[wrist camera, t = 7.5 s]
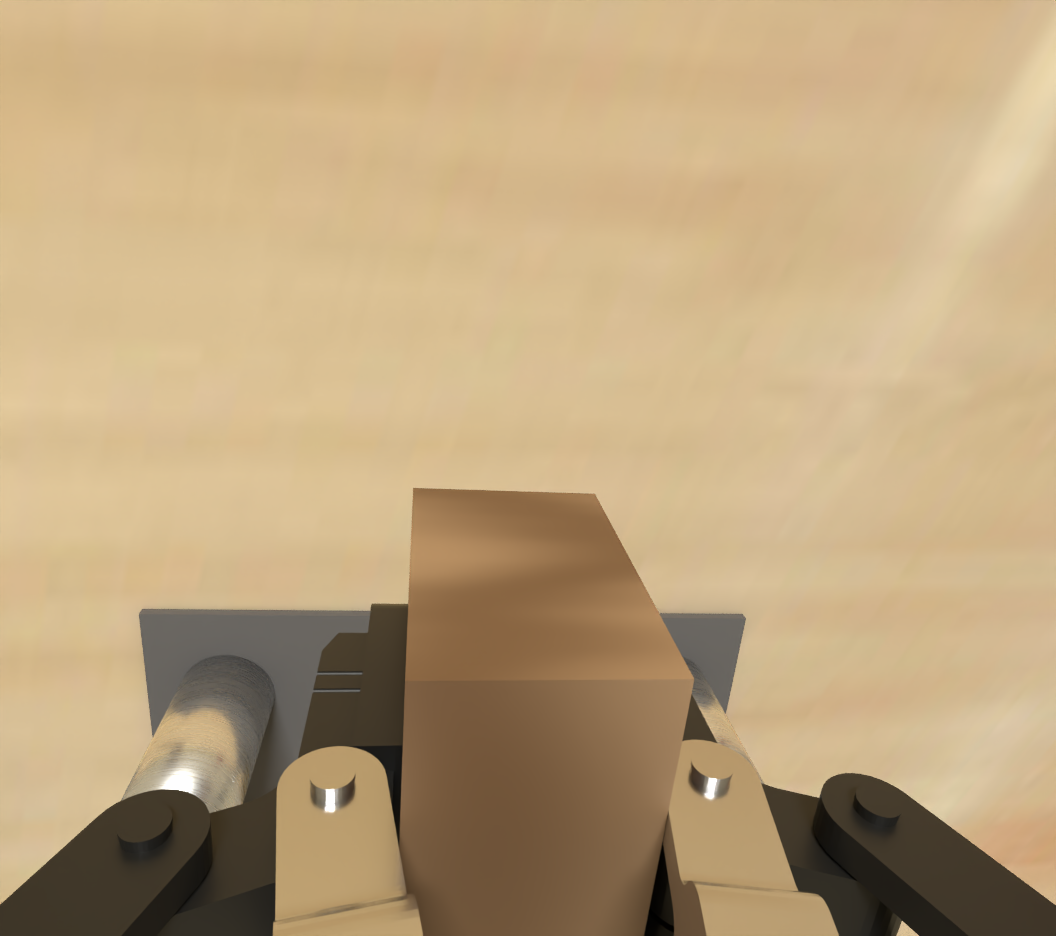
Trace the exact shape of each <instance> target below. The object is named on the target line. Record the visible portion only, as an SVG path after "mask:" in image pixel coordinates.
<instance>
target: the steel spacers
mask: <svg viewBox="0 0 1056 936" xmlns="http://www.w3.org/2000/svg"><path fill="white" fill-rule="evenodd" d="M683 659H684V661H685V663H686V664H687V666H688V668H689V670H690V672H691V674H692V676H693V677H694V684H693V689H692V695H693V697H694V699H695V701H696V703H697V705H698V707H699V709H700V711H701V712H702V714H703V716H704V718H705V720H706V722H707V724H708V726H709V728H710V730H711V732H712V734H713V736H714V737H715V739H716V741H717V743H718V744H721V745H723V746H726V747H728V748H730V749H732V750H734V751H735V752H737V753H738V754H740V755H741V756H742V757H744V758H745V759H746V760H747V761H748V762H749V763H750V764H751V765H752V766H753V768H754V769H755V771H756V772H757V770H756V768H755V766H754V765H753V763H752V761H751V759H750V757H749V756H748V754H747V752H746V750H745V748H744V747H743V745H742V743H741V741H740V739H739V738H738V736H737V734H736V732H735V730H734V729H733V727H732V725H731V723H730V721H729V720H728V718H727V716H726V714H725V713H724V711H723V709H722V707H721V705H720V704H719V702H718V700H717V698H716V696H715V695H714V693H713V691H712V689H711V687H710V686H709V684H708V682H707V680H706V678H705V677H704V675H703V673H702V671H701V669H700V668H699V667H698V666H697V665H696V664H695V663H694V662H693V661H691V660H689V659H687V658H685V657H683ZM274 700H275V689H274V685H273V682H272V680H271V678H270V677H269V675H268V674H267V673H266V672H265V670H264V669H262V668H261V667H260V666H259V665H257V664H256V663H254V662H252V661H250V660H248V659H245V658H242V657H238V656H233V655H218V656H213V657H209V658H206V659H204V660H201V661H199V662H198V663H196V664H195V665H193V666H192V667H191V668H190V669H189V670H188V671H187V673H186V674H185V676H184V677H183V679H182V681H181V683H180V685H179V687H178V689H177V691H176V693H175V695H174V697H173V699H172V701H171V703H170V705H169V707H168V709H167V711H166V713H165V715H164V717H163V719H162V721H161V723H160V725H159V727H158V729H157V731H156V733H155V735H154V737H153V738H152V740H151V742H150V744H149V746H148V748H147V750H146V752H145V754H144V756H143V758H142V760H141V762H140V764H139V766H138V768H137V770H136V772H135V774H134V776H133V778H132V780H131V782H130V784H129V786H128V788H127V790H126V792H125V794H124V796H123V798H122V800H124V799H126V798H128V797H131V796H134V795H136V794H140V793H143V792H147V791H153V790H159V789H174V790H181V791H185V792H189V793H191V794H193V795H195V796H197V797H198V798H200V799H201V800H202V801H203V802H204V803H205V805H206V806H207V808H208V810H209V813H212V812H216V811H219V810H223V809H226V808H230V807H234V806H237V805H241V804H243V802H244V798H245V795H246V792H247V789H248V785H249V782H250V779H251V776H252V772H253V769H254V766H255V763H256V759H257V756H258V753H259V750H260V746H261V743H262V740H263V737H264V733H265V730H266V727H267V724H268V720H269V717H270V714H271V710H272V707H273V704H274ZM757 774H758V772H757ZM758 776H759V778H760V781H761V783H762V784H764V783H763V781H762V779H761V777H760V775H759V774H758ZM122 800H121V801H122Z"/></svg>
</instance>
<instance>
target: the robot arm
mask: <svg viewBox="0 0 1056 936" xmlns="http://www.w3.org/2000/svg"><path fill="white" fill-rule="evenodd" d="M407 625H408V604H372V605H371V612H370V619H369V627H368V633H338V634H337V635H336V636H335V637H334V638H333V639H332V640H331V641H330V643H329V644H328V645H327V646H326V647H325V648H324V649H323V650H322V653H321V657H320V662H319V666H318V671H317V676H316V679H315V684H314V688H313V693H312V697H311V702H310V706H309V711H308V715H307V720H306V724H305V729H304V733H303V738H302V742H301V747H300V751H299V756H298V759H297V760H295V761H294V762H293V763H292V764H290V765H289V766H288V768H287V769H286V770H285V771H284V772H283V774H282V776H281V777H280V780H279V782H278V786H277V787H276V788H275V789H273V790H272V791H270V792H269V793H267V794H265V795H263V796H262V797H259V798H257V799H255V800H253V801H250V802H247V803H244V804H241V805H237V806H234V807H230V808H226V809H223V810H219V811H216V812H212V813H209V810H208V808H207V806H206V805H205V803H204V802H203V801H202V800H201V799H200V798H198V797H197V796H195V795H193V794H191V793H189V792H185V791H181V790H174V789H159V790H153V791H147V792H143V793H140V794H136V795H134V796H131V797H128V798H126V799H124V800H122V801H120V802H118V803H116V804H115V805H113V806H111V807H110V808H108V809H107V810H105V811H104V812H103V813H102V814H100V815H99V816H98V817H97V818H96V819H95V820H94V821H92V822H91V823H90V824H89V825H88V826H87V827H86V828H85V829H84V830H82V831H81V832H80V833H79V834H78V835H77V836H76V837H75V838H74V839H73V840H71V841H70V842H69V843H68V844H67V845H66V846H65V847H64V848H63V849H61V850H60V851H59V852H58V853H57V854H56V855H55V856H54V857H53V858H51V859H50V860H49V861H48V862H47V863H46V864H45V865H44V866H43V867H42V868H40V869H39V870H38V871H37V872H36V873H35V874H34V875H33V876H32V877H30V878H29V879H28V880H27V881H26V882H25V883H24V884H23V885H22V886H20V887H19V888H18V889H17V890H16V891H15V892H14V893H13V894H12V895H11V896H9V897H8V898H7V899H6V900H5V901H4V902H3V903H2V904H1V905H0V936H423V932H422V927H421V921H420V916H419V911H418V906H417V902H416V899H415V897H414V895H413V894H408V895H407V891H406V886H405V881H404V875H403V869H402V863H401V857H400V851H399V840H400V811H401V783H402V755H403V726H404V698H405V672H406V648H407ZM901 921H903V922H904V923H906V924H907V925H908V926H909V927H910V928H911V929H912V930H913V931H915V932H916V933H917V934H918V935H919V936H1056V905H1054V904H1053V903H1052V902H1050V901H1049V900H1048V899H1046V898H1045V897H1044V896H1042V895H1041V894H1040V893H1038V892H1037V891H1036V890H1034V889H1033V888H1032V887H1030V886H1029V885H1028V884H1026V883H1025V882H1024V881H1022V880H1021V879H1020V878H1018V877H1017V876H1015V875H1014V874H1013V873H1011V872H1010V871H1009V870H1007V869H1006V868H1005V867H1003V866H1002V865H1001V864H999V863H998V862H997V861H995V860H994V859H993V858H991V857H990V856H989V855H987V854H986V853H985V852H983V851H982V850H981V849H979V848H978V847H977V846H975V845H974V844H972V843H971V842H970V841H968V840H967V839H966V838H964V837H963V836H962V835H960V834H959V833H958V832H956V831H955V830H954V829H952V828H951V827H950V826H948V825H947V824H946V823H944V822H943V821H942V820H940V819H939V818H938V817H936V816H935V815H933V814H932V813H931V812H929V811H928V810H927V809H925V808H924V807H923V806H921V805H920V804H919V803H917V802H916V801H915V800H913V799H912V798H911V797H909V796H908V795H907V794H905V793H904V792H902V791H901V790H899V789H898V788H896V787H894V786H892V785H891V784H889V783H887V782H884V781H882V780H880V779H877V778H874V777H871V776H867V775H862V774H854V773H845V774H839V775H836V776H833V777H831V778H830V779H828V780H827V781H826V782H825V784H824V785H823V788H822V791H821V794H820V798H817V797H812V796H808V795H803V794H799V793H794V792H790V791H786V790H781V789H777V788H774V787H770V786H768V785H765V784H762V783H761V781H760V778H759V776H758V774H757V772H756V771H755V769H754V768H753V766H752V765H751V764H750V763H749V762H748V761H747V760H746V759H745V758H744V757H742V756H741V755H740V754H738V753H737V752H735V751H734V750H732V749H730V748H728V747H726V746H723V745H721V744H718V743H717V741H716V739H715V737H714V736H713V734H712V732H711V730H710V728H709V726H708V724H707V722H706V720H705V718H704V716H703V714H702V712H701V711H700V709H699V707H698V705H697V703H696V701H695V699H694V697H693V695H692V694H691V699H690V704H689V709H688V714H687V719H686V725H685V730H684V735H683V740H682V745H681V750H680V755H679V760H678V765H677V770H676V775H675V780H674V785H673V790H672V796H671V801H670V806H669V811H668V816H667V821H666V826H665V831H664V836H663V841H662V846H661V851H660V856H659V861H658V866H657V872H656V877H655V882H654V887H653V892H652V897H651V902H650V907H649V912H648V917H647V922H646V927H645V932H644V936H896V935H897V933H898V930H899V927H900V924H901Z"/></svg>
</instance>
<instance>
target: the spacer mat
mask: <svg viewBox="0 0 1056 936" xmlns="http://www.w3.org/2000/svg"><path fill="white" fill-rule="evenodd" d="M370 612H371V611H298V610H179V609H142V611H141V612H140V614H139V618H140V627H141V636H142V645H143V654H144V663H145V672H146V681H147V690H148V699H149V708H150V717H151V726H152V735H153V737H154V735H155V733H156V731H157V729H158V727H159V725H160V723H161V721H162V719H163V717H164V715H165V713H166V711H167V709H168V707H169V705H170V703H171V701H172V699H173V697H174V695H175V693H176V691H177V689H178V687H179V685H180V683H181V681H182V679H183V677H184V676H185V674H186V673H187V671H188V670H189V669H190V668H191V667H192V666H193V665H195V664H196V663H198V662H199V661H201V660H204V659H206V658H209V657H213V656H218V655H233V656H238V657H242V658H245V659H248V660H250V661H252V662H254V663H256V664H257V665H259V666H260V667H261V668H262V669H264V670H265V672H266V673H267V674H268V675H269V677H270V678H271V680H272V682H273V685H274V689H275V700H274V704H273V707H272V710H271V714H270V717H269V720H268V724H267V727H266V730H265V733H264V737H263V740H262V743H261V746H260V750H259V753H258V756H257V759H256V763H255V766H254V769H253V772H252V776H251V779H250V782H249V785H248V789H247V792H246V795H245V798H244V802H243V804H244V803H247V802H250V801H253V800H255V799H257V798H259V797H262V796H263V795H265V794H267V793H269V792H270V791H272V790H273V789H275V788H276V787H277V786H278V782H279V780H280V777H281V776H282V774H283V772H284V771H285V770H286V769H287V768H288V766H289V765H290V764H292V763H293V762H294V761H295V760H297V759H298V756H299V751H300V747H301V742H302V738H303V733H304V729H305V724H306V720H307V715H308V711H309V706H310V702H311V697H312V693H313V688H314V684H315V679H316V676H317V671H318V666H319V662H320V657H321V653H322V650H323V649H324V648H325V647H326V646H327V645H328V644H329V643H330V641H331V640H332V639H333V638H334V637H335V636H336V635H337V634H338V633H368V627H369V619H370ZM660 616H661V618H662V620H663V622H664V624H665V625H666V627H667V629H668V631H669V633H670V635H671V637H672V638H673V640H674V642H675V644H676V646H677V648H678V650H679V651H680V653H681V655H682V657H685V658H687V659H689V660H691V661H693V662H694V663H695V664H696V665H697V666H698V667H699V668H700V669H701V671H702V673H703V675H704V677H705V678H706V680H707V682H708V684H709V686H710V687H711V689H712V691H713V693H714V695H715V696H716V698H717V700H718V702H719V704H720V705H721V707H722V709H723V711H724V713H725V714H726V710H727V705H728V701H729V696H730V691H731V686H732V682H733V677H734V672H735V667H736V663H737V658H738V653H739V648H740V644H741V639H742V634H743V629H744V625H745V620H746V618H745V617H744V616H743V614H660Z"/></svg>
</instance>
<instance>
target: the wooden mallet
mask: <svg viewBox="0 0 1056 936" xmlns="http://www.w3.org/2000/svg"><path fill="white" fill-rule="evenodd" d="M693 684H694V677H693V676H692V674H691V672H690V670H689V668H688V666H687V664H686V663H685V661H684V659H683V657H682V655H681V653H680V651H679V650H678V648H677V646H676V644H675V642H674V640H673V638H672V637H671V635H670V633H669V631H668V629H667V627H666V625H665V624H664V622H663V620H662V618H661V616H660V614H659V612H658V611H657V609H656V607H655V605H654V603H653V601H652V599H651V598H650V596H649V594H648V592H647V590H646V588H645V586H644V585H643V583H642V581H641V579H640V577H639V575H638V573H637V572H636V570H635V568H634V566H633V564H632V562H631V560H630V559H629V557H628V555H627V553H626V551H625V549H624V547H623V546H622V544H621V542H620V540H619V538H618V536H617V534H616V533H615V531H614V529H613V527H612V525H611V523H610V521H609V519H608V518H607V516H606V514H605V512H604V510H603V508H602V506H601V505H600V503H599V501H598V499H597V497H596V495H595V494H580V493H549V492H517V491H486V490H455V489H424V488H413V507H412V531H411V554H410V578H409V601H408V625H407V648H406V672H405V698H404V726H403V755H402V783H401V811H400V840H399V851H400V857H401V863H402V869H403V875H404V881H405V886H406V891H407V895H408V894H413V895H414V897H415V899H416V902H417V906H418V911H419V916H420V921H421V927H422V932H423V936H644V932H645V927H646V922H647V917H648V912H649V907H650V902H651V897H652V892H653V887H654V882H655V877H656V872H657V866H658V861H659V856H660V851H661V846H662V841H663V836H664V831H665V826H666V821H667V816H668V811H669V806H670V801H671V796H672V790H673V785H674V780H675V775H676V770H677V765H678V760H679V755H680V750H681V745H682V740H683V735H684V730H685V725H686V719H687V714H688V709H689V704H690V699H691V694H692V689H693Z"/></svg>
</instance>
